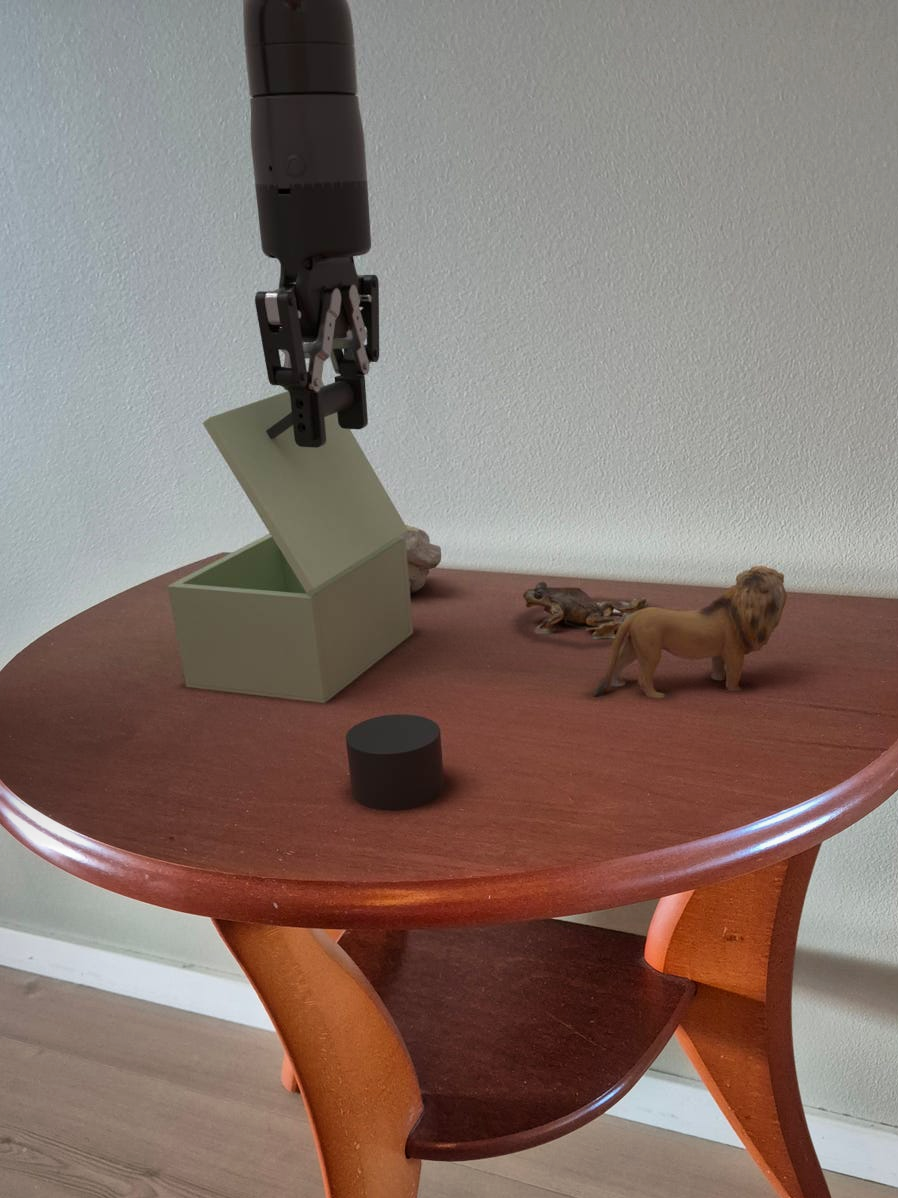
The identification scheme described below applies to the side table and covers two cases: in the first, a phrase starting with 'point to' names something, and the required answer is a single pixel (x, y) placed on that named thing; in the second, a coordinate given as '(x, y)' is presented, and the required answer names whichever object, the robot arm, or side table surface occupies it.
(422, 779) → the dark solid cylinder
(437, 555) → the fossil replica
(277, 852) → the side table surface
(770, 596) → the lion figurine
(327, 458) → the lid
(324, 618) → the chest
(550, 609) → the frog figurine
